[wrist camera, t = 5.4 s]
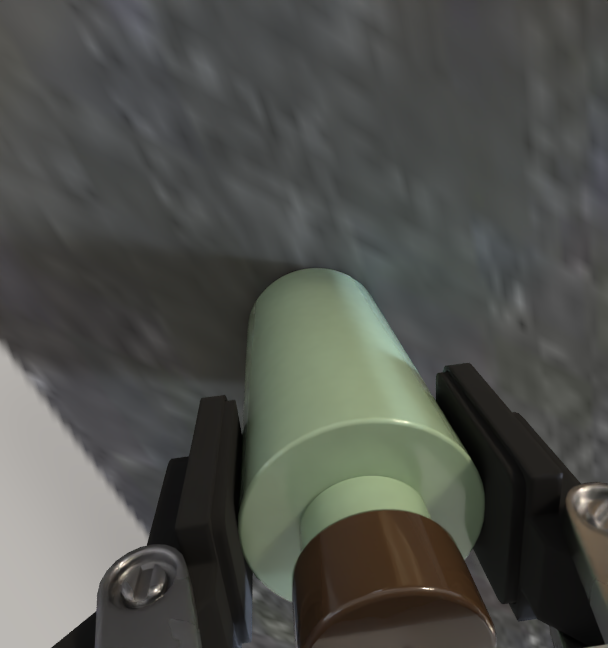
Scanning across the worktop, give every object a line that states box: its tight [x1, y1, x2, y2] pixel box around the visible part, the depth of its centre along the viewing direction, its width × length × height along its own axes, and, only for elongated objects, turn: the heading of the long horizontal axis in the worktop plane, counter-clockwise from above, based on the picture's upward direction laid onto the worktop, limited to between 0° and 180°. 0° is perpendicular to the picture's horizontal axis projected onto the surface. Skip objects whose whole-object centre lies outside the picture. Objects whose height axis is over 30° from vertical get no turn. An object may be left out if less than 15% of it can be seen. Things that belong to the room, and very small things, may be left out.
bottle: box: [237, 268, 497, 648], centre depth 12 cm, size 5×5×12 cm
